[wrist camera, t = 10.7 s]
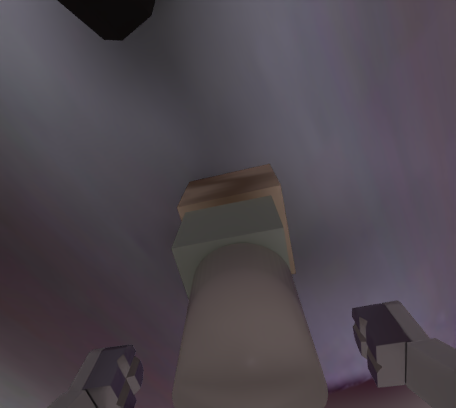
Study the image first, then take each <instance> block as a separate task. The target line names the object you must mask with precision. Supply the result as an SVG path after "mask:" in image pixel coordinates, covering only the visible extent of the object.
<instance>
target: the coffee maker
mask: <svg viewBox="0 0 456 408" xmlns="http://www.w3.org/2000/svg"><path fill="white" fill-rule="evenodd" d="M58 1H59V2H60V3H61V4H62V5H64V6H65V7H66V8H67V9H68V10H70V11H71V12H72V13H73V14H74V15H75V16H77V17H78V18H79V19H80V20H81V21H83V22H84V23H85V24H86V25H87V26H88V27H90V28H91V29H92V30H93V31H94V32H96V33H97V34H98V35H99V36H100V37H102V38H103V39H104V40H123V39H124V38H126V37H127V36H128V35H129V34H130V33H132V32H133V31H134V30H135V29H136V28H137V27H139V26H140V25H141V24H142V23H143V22H145V21H146V20H147V19H148V18H149V17H150V16H151V15H152V11H153V7H154V4H155V0H58Z"/></svg>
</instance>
